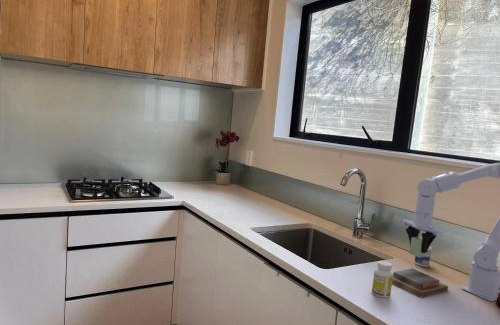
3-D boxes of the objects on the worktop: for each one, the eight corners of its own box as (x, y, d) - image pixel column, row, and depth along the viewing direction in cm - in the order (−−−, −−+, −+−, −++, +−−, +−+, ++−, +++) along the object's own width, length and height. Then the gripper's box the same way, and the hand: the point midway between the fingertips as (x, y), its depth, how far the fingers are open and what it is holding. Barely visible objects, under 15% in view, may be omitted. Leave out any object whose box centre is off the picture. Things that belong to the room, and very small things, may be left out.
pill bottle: (416, 260, 151) (420, 236, 150) (430, 264, 147) (434, 240, 146) (412, 263, 147) (416, 239, 146) (427, 268, 143) (431, 243, 142)
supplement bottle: (386, 291, 119) (390, 260, 117) (393, 299, 113) (397, 267, 112) (368, 289, 118) (373, 259, 117) (375, 297, 113) (379, 266, 112)
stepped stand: (447, 290, 124) (448, 281, 123) (420, 297, 116) (422, 287, 116) (410, 273, 136) (411, 265, 135) (383, 278, 128) (384, 270, 128)
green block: (426, 256, 135) (428, 239, 134) (419, 257, 133) (421, 240, 132) (416, 252, 138) (418, 236, 137) (409, 253, 136) (411, 237, 135)
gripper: (399, 208, 138) (393, 244, 139) (436, 219, 125) (429, 258, 127) (411, 207, 141) (406, 243, 143) (448, 218, 129) (442, 256, 131)
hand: (418, 250), depth 135 cm, fingers closed on green block, 4 cm apart
